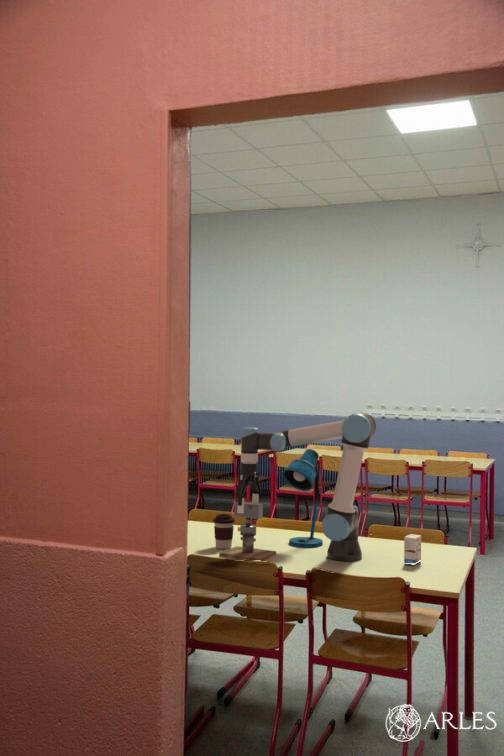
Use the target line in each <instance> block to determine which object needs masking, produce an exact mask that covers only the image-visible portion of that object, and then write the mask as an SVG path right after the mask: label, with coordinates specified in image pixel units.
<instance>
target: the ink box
mask: <svg viewBox="0 0 504 756" xmlns="http://www.w3.org/2000/svg"><path fill="white" fill-rule="evenodd" d="M403 542H404V543H403V546H404V547H403V549H404V550H403V551H404V553H403V561H404V563H416V562H418V561H419V560H421V561H422V535H421V534H415V533H411V534H408V535H405V536H404V538H403ZM404 563H403V564H404Z"/></svg>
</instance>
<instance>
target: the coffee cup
mask: <svg viewBox="0 0 504 756" xmlns="http://www.w3.org/2000/svg"><path fill="white" fill-rule="evenodd" d="M212 520H213V523H214V527H213V528H214V539H215V548H217V549H220V550H228V549H231V548H233V547H232V546H233V545H232V544H233V543H232V542H233V539H234V538H233V537H234V523H235V522H236V519H235V517H233V516H232V514H228V513H219V514H217V515H216V516H215V517H213V519H212Z"/></svg>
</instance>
